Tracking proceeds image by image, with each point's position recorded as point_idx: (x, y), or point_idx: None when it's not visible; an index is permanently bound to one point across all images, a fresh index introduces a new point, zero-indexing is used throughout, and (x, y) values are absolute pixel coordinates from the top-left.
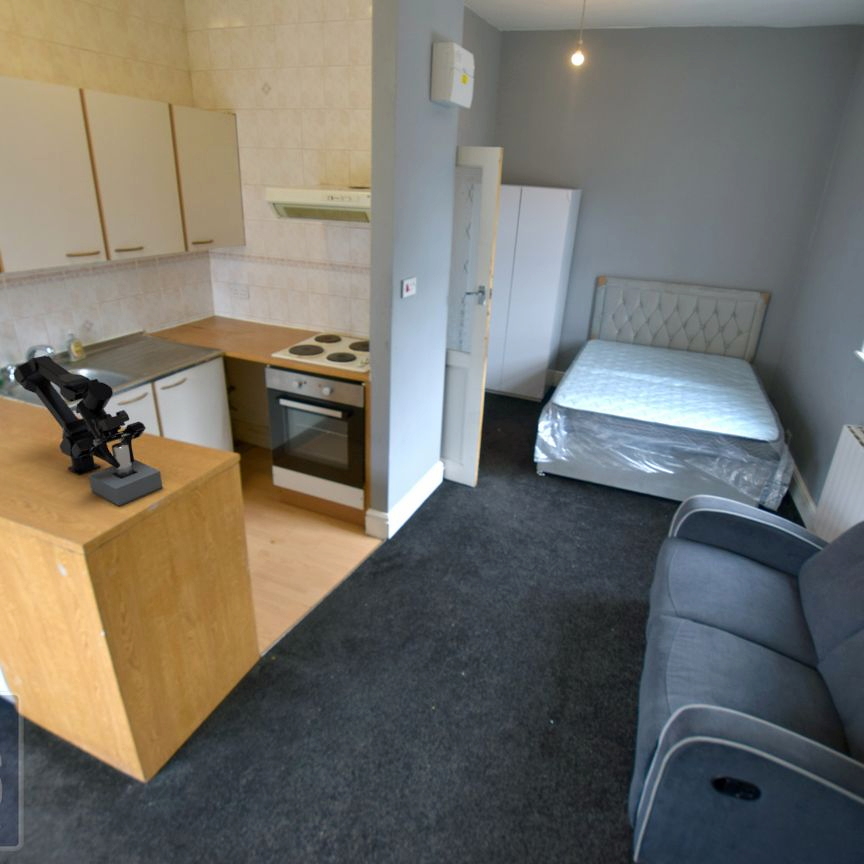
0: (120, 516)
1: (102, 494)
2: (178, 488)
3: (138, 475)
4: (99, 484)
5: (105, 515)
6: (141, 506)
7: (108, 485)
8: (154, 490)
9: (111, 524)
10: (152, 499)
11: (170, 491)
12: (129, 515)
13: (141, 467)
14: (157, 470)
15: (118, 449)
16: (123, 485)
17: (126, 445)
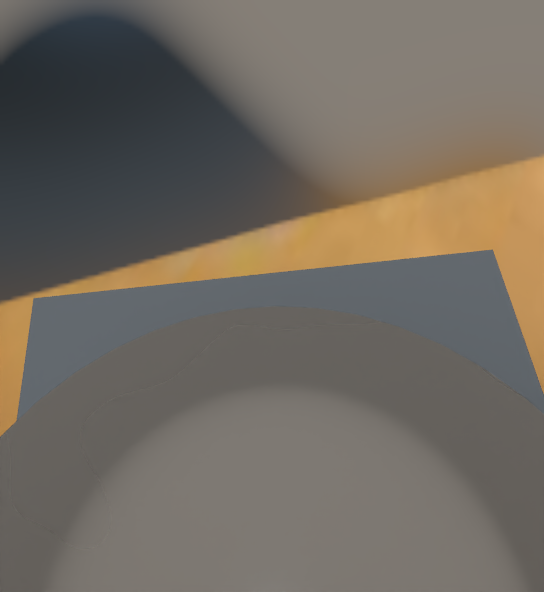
0: (459, 223)
1: None
2: (49, 291)
3: None
4: None
5: (530, 288)
6: (323, 245)
7: (530, 367)
8: None
9: (524, 183)
10: (235, 275)
11: (105, 290)
12: (415, 202)
13: None
14: (36, 329)
15: (461, 378)
16: (414, 263)
17: (47, 464)
